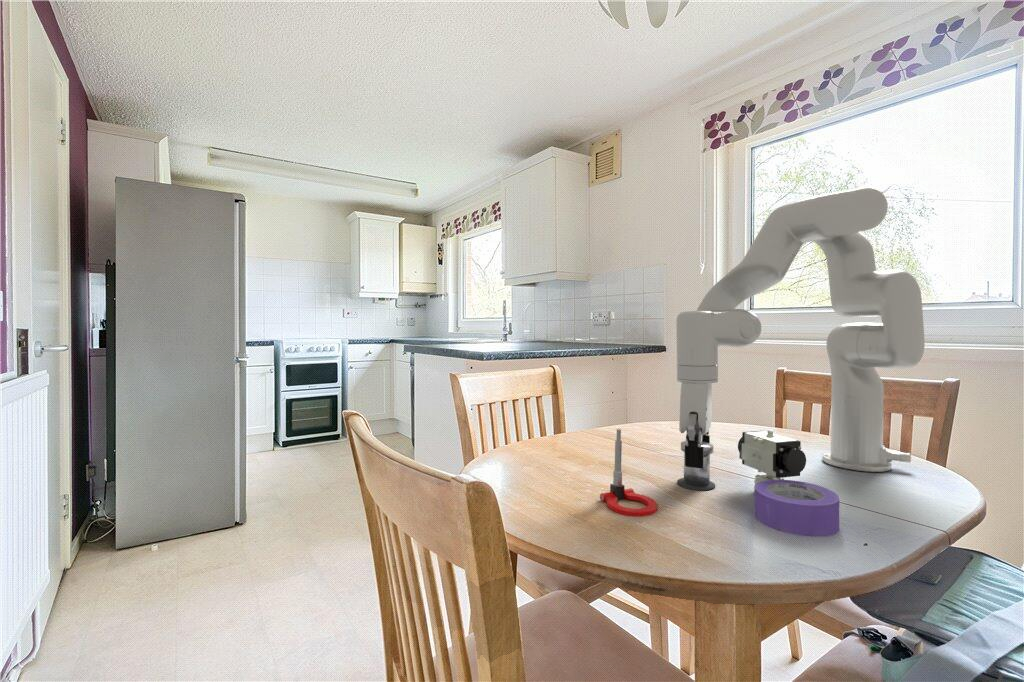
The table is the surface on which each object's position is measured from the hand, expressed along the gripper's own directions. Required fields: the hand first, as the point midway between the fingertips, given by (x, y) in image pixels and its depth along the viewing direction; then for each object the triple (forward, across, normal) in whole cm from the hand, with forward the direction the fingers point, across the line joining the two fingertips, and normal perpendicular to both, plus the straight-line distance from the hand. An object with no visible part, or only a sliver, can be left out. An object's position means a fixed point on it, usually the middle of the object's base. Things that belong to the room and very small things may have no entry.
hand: (697, 460), depth 95 cm
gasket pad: (+5, 0, 0) cm, 5 cm away
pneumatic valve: (+5, 0, +12) cm, 13 cm away
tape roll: (+5, +11, +16) cm, 20 cm away
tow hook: (+5, +17, -9) cm, 20 cm away
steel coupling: (+4, 0, 0) cm, 4 cm away
